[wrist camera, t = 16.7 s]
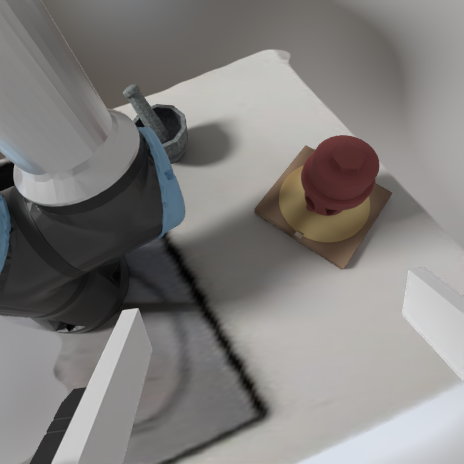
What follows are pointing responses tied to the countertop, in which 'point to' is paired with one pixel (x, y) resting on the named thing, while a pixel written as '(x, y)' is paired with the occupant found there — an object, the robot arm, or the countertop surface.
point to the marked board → (319, 216)
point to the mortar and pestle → (160, 122)
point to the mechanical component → (339, 175)
